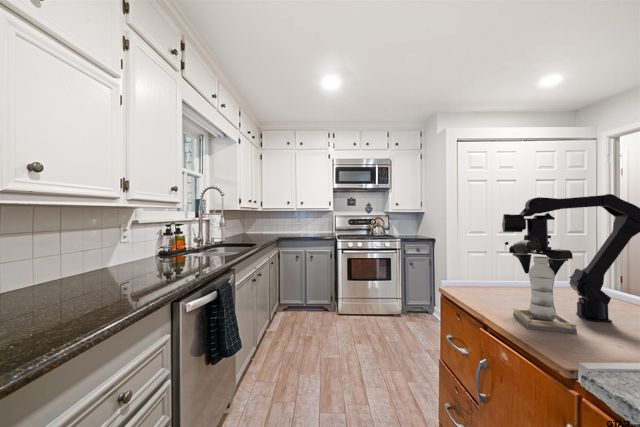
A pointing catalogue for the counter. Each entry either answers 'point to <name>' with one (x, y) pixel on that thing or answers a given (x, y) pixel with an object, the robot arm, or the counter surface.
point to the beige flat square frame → (544, 322)
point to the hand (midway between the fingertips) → (538, 275)
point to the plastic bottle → (542, 290)
